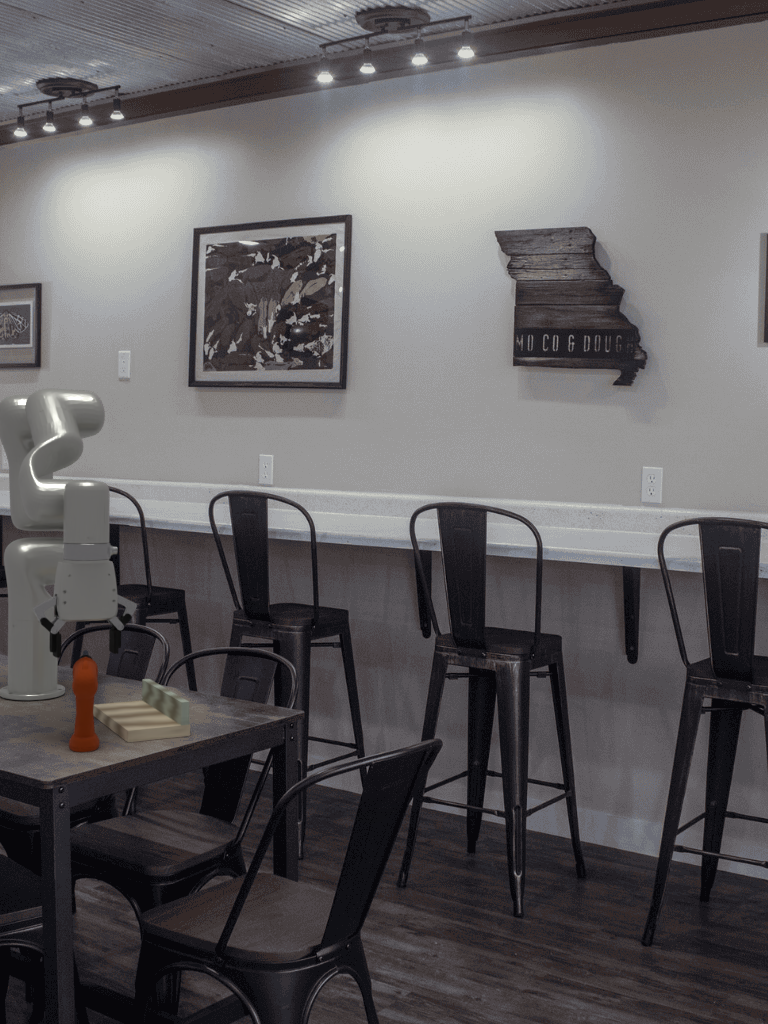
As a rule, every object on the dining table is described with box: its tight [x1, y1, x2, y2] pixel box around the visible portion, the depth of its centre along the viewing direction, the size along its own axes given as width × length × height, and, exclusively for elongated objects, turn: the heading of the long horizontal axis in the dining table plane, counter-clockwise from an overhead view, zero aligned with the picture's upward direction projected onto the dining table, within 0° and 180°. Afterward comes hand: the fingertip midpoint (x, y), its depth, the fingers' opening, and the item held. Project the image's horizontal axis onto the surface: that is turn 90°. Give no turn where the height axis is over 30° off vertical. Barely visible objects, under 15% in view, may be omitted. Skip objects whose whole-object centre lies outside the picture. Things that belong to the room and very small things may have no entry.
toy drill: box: [68, 649, 100, 753], centre depth 186 cm, size 5×19×15 cm, turn 15°
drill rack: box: [93, 678, 191, 743], centre depth 197 cm, size 22×11×6 cm, turn 30°
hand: (85, 654), depth 186 cm, fingers open, 9 cm apart
